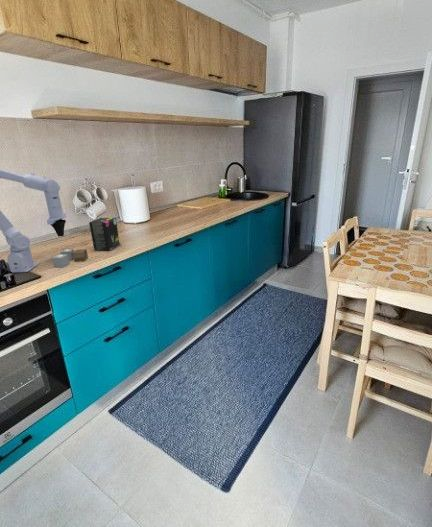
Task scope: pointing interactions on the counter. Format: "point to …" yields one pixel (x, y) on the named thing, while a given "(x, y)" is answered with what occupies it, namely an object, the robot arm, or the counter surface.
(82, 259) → the walnut cube
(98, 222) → the tampon box
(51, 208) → the robot arm
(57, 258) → the grey dot cube
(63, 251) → the grey dot cube
